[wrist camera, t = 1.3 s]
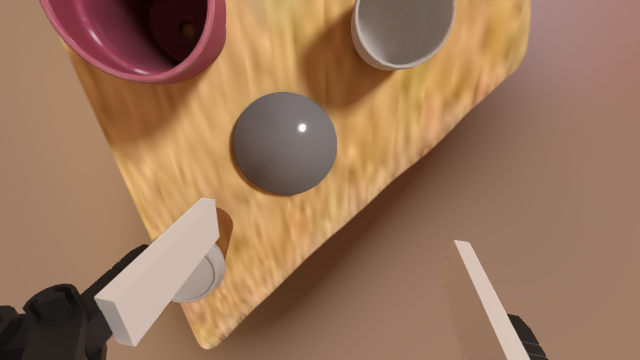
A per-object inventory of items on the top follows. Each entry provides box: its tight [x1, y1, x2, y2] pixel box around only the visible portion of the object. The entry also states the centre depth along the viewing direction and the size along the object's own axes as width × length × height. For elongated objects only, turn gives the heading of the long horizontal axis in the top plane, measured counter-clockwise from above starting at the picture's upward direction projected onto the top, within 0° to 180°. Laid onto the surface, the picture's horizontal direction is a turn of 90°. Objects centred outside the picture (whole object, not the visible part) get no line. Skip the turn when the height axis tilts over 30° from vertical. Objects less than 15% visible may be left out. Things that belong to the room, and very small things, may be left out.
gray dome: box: [233, 92, 337, 195], centre depth 38 cm, size 15×15×1 cm
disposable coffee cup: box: [150, 208, 233, 303], centre depth 36 cm, size 10×10×12 cm
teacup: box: [351, 0, 456, 71], centre depth 30 cm, size 14×11×8 cm
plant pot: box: [39, 0, 226, 84], centre depth 27 cm, size 14×14×13 cm
